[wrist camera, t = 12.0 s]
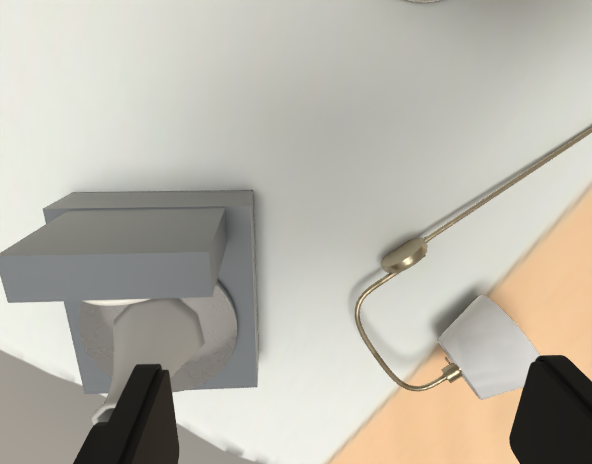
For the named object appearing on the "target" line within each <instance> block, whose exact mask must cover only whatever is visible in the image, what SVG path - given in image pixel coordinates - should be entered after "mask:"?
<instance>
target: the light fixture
mask: <svg viewBox="0 0 592 464" xmlns="http://www.w3.org/2000/svg"><path fill="white" fill-rule="evenodd" d="M590 133H592V127H591V128H590V129H588V130H587V131H585V132H584V133H582V134H581V135H579V136H578V137H576V138H575V139H573V140H572V141H570V142H569V143H567V144H566V145H564V146H563V147H561V148H560V149H558V150H557V151H555V152H554V153H552V154H551V155H549V156H548V157H546V158H545V159H543V160H542V161H540V162H539V163H537V164H536V165H534V166H533V167H531V168H530V169H528V170H527V171H525V172H524V173H522V174H521V175H519V176H518V177H516V178H515V179H513V180H512V181H510V182H509V183H507V184H506V185H504V186H503V187H501V188H499V189H498V190H496V191H495V192H493V193H492V194H490V195H489V196H487V197H486V198H484V199H483V200H481V201H480V202H478V203H477V204H475V205H474V206H472V207H471V208H469V209H468V210H466V211H465V212H463V213H462V214H460V215H459V216H457V217H456V218H454V219H453V220H451V221H450V222H448V223H447V224H445V225H444V226H442V227H441V228H439V229H438V230H436V231H435V232H433V233H432V234H430V235H429V236H427V237H425V238H424V239H422V238H416V239H412V240H410V241H408V242H406V243H405V244H403V245H402V246H400V247H399V248H397V249H395V250H394V251H392V252H391V253H389V254H388V255H386V256H385V258H384V259H383V260H382V262H381V266H382V267H383V269H384V270H385V271H386V272H389V274H387V275H386V276H384V277H383V278H381V279H380V280H378V281H377V282H376V283H374V284H373V285H371V286H370V287H369V288H367V289H366V290H365V291H364V292H363V293H362V294H361V296H360V297H359V299H358V301H357V303H356V306H355V321H356V325H357V328H358V330H359V333H360V335H361V337H362V339H363V340H364V342H365V344H366V345H367V347H368V348H369V350H370V351H371V353H372V354H373V356H374V357H375V359H376V360H377V361H378V363H379V364H380V365H381V367H382V368H383V369H384V370H385V372H386V373H387V374H388V375H389V376H390V377H391V378H392V379H393V381H395V382H396V383H397V384H398V385H400V386H401V387H403V388H405V389H407V390H411V391H424V390H428V389H430V388H433V387H435V386H436V385H438V384H440V383H442V382H443V381H445V380H449V382H450V383H452V382H454V381H455V380H457V379H458V378H460V377H463V378H464V380H465V381H466V382H467V384H468V385H469V386H470V388H471V389H472V390H473V392H474V393H475V394H476V395H477V396H478V398H479V399H481V400H483V399H486V398H490V397H493V396H496V395H499V394H503V393H506V392H509V391H512V390H515V389H519V388H522V387H524V384H525V381H526V377H527V374H528V370H529V367H530V364H531V363H532V362H535V360H536V358H537V357H538V356H540V354H539V353H538V351H537V350H536V349H535V347H534V346H533V344H532V343H531V342H530V340H529V339H528V338H527V337H526V335H525V334H524V333H523V332H522V330H521V329H520V328H519V327H518V326H517V325H516V323H515V322H514V321H513V320H512V319H511V318H510V317H509V316H508V315H507V314H506V313H505V312H504V311H503V310H502V309H501V308H500V307H499V306H498V305H497V304H496V303H495V302H493V301H492V300H491V299H490V298H488V297H486V296H484V295H479V296H478V297H477V298H476V299H475V300H474V301H473V302H472V303H471V304H470V305H469V306H468V307H467V308H466V309H465V310H464V311H463V313H462V314H461V315H460V316H459V317H458V318H457V319H456V320H455V321H454V322H453V323H452V324H451V325H450V326H449V327H448V328H447V329H446V330H445V331H444V332H443V333H442V335H441V336H440V337H439V338H438V342H439V344H440V345H441V347H442V349H443V350H444V352H445V353H446V354H447V356H448V357H449V359H450V360H451V362H452V363H450V362H449V361H448V359H447V357H445V360H446V361H447V362H448V363H449V365H448V366H446V367H445V368H443V369H441V370H442V372H443V373H444V374H443V375H442V376H441V377H439V378H438V379H436V380H434V381H432V382H431V383H428V384H426V385H422V386H411V385H408V384H406V383H404V382H403V381H401V380H400V379H399V378H398V377H397V376H396V375H395V374H394V373H393V372H392V371H391V370H390V369H389V368H388V366H387V365H386V364H385V362H384V361H383V360H382V358H381V357H380V356H379V354H378V353H377V351H376V350H375V348H374V347H373V345H372V344H371V342H370V341H369V339H368V337H367V335H366V334H365V332H364V329H363V327H362V324H361V321H360V306H361V304H362V302H363V300H364V299H365V298H366V296H367V295H368V294H370V293H371V292H372V291H373V290H375V289H376V288H378V287H379V286H381V285H382V284H383V283H385V282H386V281H388V280H390V279H391V278H393V277H394V276H396V275H397V274H399V273H400V272H402V271H404V270H406V269H408V268H410V267H411V266H413V265H415V264H416V263H417V262H419V261H420V260H421V259H422V258H423V257H425V256H426V255H425V254H426V252H427V244H426V243H427V242H429V240H431V239H432V238H434V237H435V236H437V235H438V234H440V233H441V232H443V231H444V230H446V229H447V228H449V227H450V226H452V225H453V224H455V223H456V222H458V221H459V220H461V219H462V218H464V217H465V216H467V215H468V214H470V213H471V212H473V211H474V210H476V209H477V208H479V207H480V206H482V205H484V204H485V203H487V202H488V201H490V200H491V199H493V198H494V197H496V196H497V195H499V194H500V193H502V192H503V191H505V190H506V189H508V188H509V187H511V186H512V185H514V184H515V183H517V182H518V181H520V180H521V179H523V178H524V177H526V176H527V175H529V174H530V173H532V172H533V171H535V170H536V169H538V168H539V167H541V166H542V165H544V164H545V163H547V162H548V161H550V160H551V159H553V158H554V157H556V156H557V155H559V154H560V153H562V152H563V151H565V150H566V149H568V148H569V147H571V146H572V145H574V144H575V143H577V142H578V141H580V140H581V139H583V138H584V137H586V136H587V135H589V134H590Z"/></svg>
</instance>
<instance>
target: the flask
mask: <svg viewBox="0 0 592 464" xmlns="http://www.w3.org/2000/svg"><path fill="white" fill-rule="evenodd" d="M113 335H114V365H113V378H112V382H111V386H110V390H109V394H108V396H107V398H106V400H105V402H104V404H103V405H102V406H101V407H100V408H99V409H98V410H97V411H95V413H94V414H93V415H92V416H91V421H92V423H93V426H94V425H95V424H96V423H97V422H108V421H109V419H110V417H111V414H112V412H113V410H114V408H115V406H116V404H117V402H118V400H119V398H120V396H121V394H122V392H123V389H124V387H125V385H126V383H127V381H128V379H129V377H130V375H131V373H132V371H133V369H134V367H135V365H137V364H161V366H162V370H169V374H170V378H171V377H172V376H173V375H174V374H175V373H176V372H177V371H178V370H179V369H180V368H181V367H182V366H183V364H185V363H186V362H187V361H188V360H189V359H190V358H191V357H192V356H193V355H194V354H195V353H196V352H197V351H198V350H199V349H200V348H201V347H202V346H203V345H204V344H205V341H204V337H203V333H202V329H201V325H200V321H199V317H198V314H197V313H195V312H194V311H193V310H192V309H190V308H189V307H188V306H186V305H185V304H184V303H183V302H181V301H180V300H179V299H177V298H163V299H149V300H146V301H142V302H138V303H133V304H129V305H128V306H127V307H126V308H125V309H124V310H123V311H122V312H121V313H120V314H119V315H118V316H117V317H116V318H115V319H114V320H113Z"/></svg>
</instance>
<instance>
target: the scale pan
mask: <svg viewBox="0 0 592 464" xmlns="http://www.w3.org/2000/svg"><path fill="white" fill-rule="evenodd" d="M177 299H179V300H180V301H181V302H183V303H184V304H185V305H186V306H188V307H189V308H190V309H192V310H193V311H194V312H195V313H197V314H198V317H199V321H200V325H201V329H202V333H203V337H204V341H205V344H204V345H203V346H202V347H201V348H200V349H199V350H198V351H197V352H196V353H195V354H194V355H193V356H192V357H191V358H190V359H189V360H188V361H187V362H186V363H185V364H183V366H182V367H181V368H180V369H179V370H178V371H177V372H176V373H175V374H174V375H173V376H172V377H171V378H170V381H171V389H172V392H179V391H184V390H188V389H191V388H194V387H196V386H199V385H201V384H203V383H205V382H206V381H208V380H210V379H211V378H212V377H214V376H215V375H216V374H218V372H219V371H220V370H221V369H222V368H223V367H224V366H225V365H226V363H227V362H228V360H229V358H230V356H231V355H232V352H233V349H234V346H235V342H236V336H237V316H236V311H235V308H234V305H233V303H232V300H231V298H230V296H229V295H228V293H227V292H226V290H225V289H224V288H223V287H222V285H221V284H220V283H219V282H218V281H217V282H216V285H215V289H214V293H213V296H212V297H200V298H177ZM128 305H129V304H127V305H116V306H103V305H94V304H90V303H86V302H84V301H83V302H82V305H81V307H80V313H79V331H80V336H81V339H82V343H83V345H84V347H85V349H86V351H87V353H88V354H89V356H90V357H91V359H92V360H93V361H94V362H95V363H96V365H97V366H98V367H99V368H100V369H102V370H103V371H104V372H105V373H106V374H108V375H109V376H110V377H112V378H113V365H114V335H113V320H114V319H115V318H116V317H117V316H118V315H119V314H120V313H121V312H122V311H123V310H124V309H125V308H126V307H127V306H128Z"/></svg>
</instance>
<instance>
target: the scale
mask: <svg viewBox="0 0 592 464" xmlns="http://www.w3.org/2000/svg"><path fill="white" fill-rule="evenodd" d="M43 212H44V216H45V221H46V225H44V226H43V227H41V228H40V229H38V230H36V231H35V232H33V233H32V234H30V235H28V236H27V237H25V238H24V239H22V240H20V241H19V242H17V243H16V244H14V245H12V246H11V247H9V248H8V249H6V250H4V251H3V252H1V253H0V276H1V279H2V283H3V287H4V290H5V294H6V297H7V301H8V303H15V302H52V301H64V304H65V309H66V313H67V318H68V322H69V327H70V331H71V335H72V340H73V344H74V349H75V353H76V357H77V362H78V366H79V371H80V375H81V379H82V384H83V388H84V393H85V394H99V393H109V390H110V386H111V382H112V377H110V376H109V375H108V374H106V373H105V372H104V371H103V370H102V369H100V368H99V367H98V366H97V365H96V363H95V362H94V361H93V360H92V359H91V357H90V356H89V354H88V353H87V351H86V349H85V347H84V345H83V343H82V339H81V336H80V331H79V313H80V307H81V305H82V302H83V301H84V302H86V303H90V304H94V305H103V306H116V305H127V304H133V303H138V302H142V301H146V300H149V299H163V298H200V297H212V296H213V293H214V289H215V285H216V282H217V281H218V282H219V283H220V284H221V285H222V287H223V288H224V289H225V290H226V292H227V293H228V295H229V296H230V298H231V300H232V303H233V305H234V308H235V311H236V316H237V336H236V342H235V346H234V349H233V352H232V355H231V356H230V358H229V360H228V362H227V363H226V365H225V366H224V367H223V368H222V369H221V370H220V371H219V372H218V374H216V375H215V376H214V377H212V378H211V379H210V380H208V381H206V382H205V383H203V384H201V385H199V386H196V387H194V388H191V389H188V390H199V389H224V388H249V387H257V383H258V360H259V347H258V319H257V291H256V263H255V235H254V207H253V190H234V191H152V192H73V193H71V194H69V195H67V196H65V197H64V198H62V199H60V200H58V201H56V202H54V203H53V204H51V205H49V206H47V207H45V208H43Z"/></svg>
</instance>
